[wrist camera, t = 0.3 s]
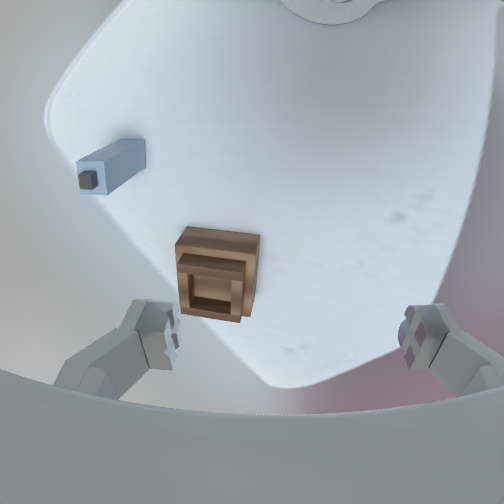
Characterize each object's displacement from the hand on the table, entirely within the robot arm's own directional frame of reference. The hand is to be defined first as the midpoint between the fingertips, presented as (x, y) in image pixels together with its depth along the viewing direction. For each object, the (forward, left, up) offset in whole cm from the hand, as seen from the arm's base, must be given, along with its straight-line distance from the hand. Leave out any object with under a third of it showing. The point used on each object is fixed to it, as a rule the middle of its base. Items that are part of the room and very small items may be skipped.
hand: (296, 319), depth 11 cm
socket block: (+23, -10, -37) cm, 45 cm away
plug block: (+5, -25, -37) cm, 45 cm away
